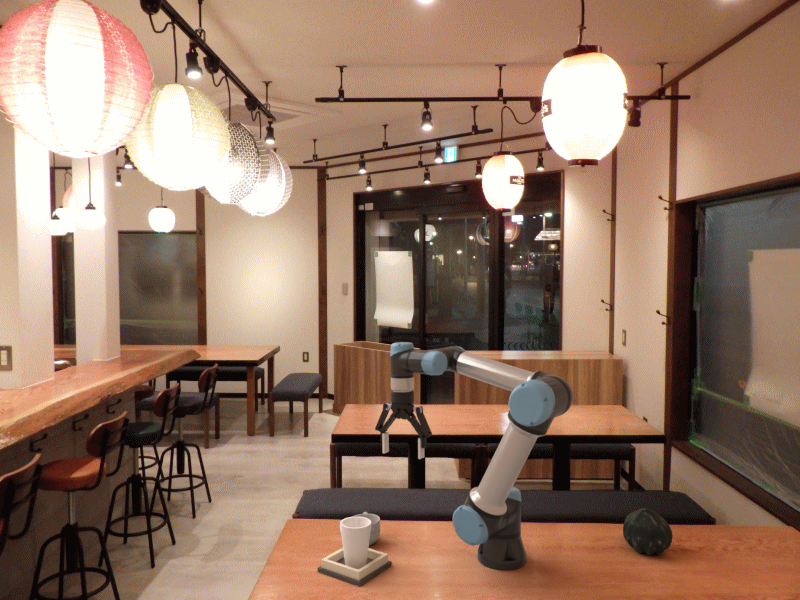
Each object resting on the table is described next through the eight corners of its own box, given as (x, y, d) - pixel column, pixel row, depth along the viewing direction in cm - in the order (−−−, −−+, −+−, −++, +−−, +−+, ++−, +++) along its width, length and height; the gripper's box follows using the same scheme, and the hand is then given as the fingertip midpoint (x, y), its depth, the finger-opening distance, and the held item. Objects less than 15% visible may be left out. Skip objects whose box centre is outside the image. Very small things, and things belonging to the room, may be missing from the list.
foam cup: (347, 574, 183) (347, 530, 182) (335, 561, 191) (335, 519, 190) (376, 567, 187) (376, 524, 187) (363, 555, 195) (363, 514, 195)
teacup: (375, 550, 202) (375, 526, 201) (343, 547, 204) (343, 523, 203) (385, 533, 215) (385, 510, 215) (355, 531, 217) (355, 508, 217)
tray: (391, 565, 191) (391, 553, 191) (359, 586, 178) (359, 574, 178) (351, 552, 200) (351, 541, 200) (317, 571, 187) (317, 559, 187)
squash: (657, 521, 212) (633, 492, 208) (689, 541, 197) (664, 509, 194) (630, 552, 210) (605, 522, 206) (659, 574, 195) (633, 543, 192)
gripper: (441, 391, 199) (442, 457, 199) (377, 385, 212) (377, 447, 212) (430, 395, 192) (431, 463, 193) (364, 388, 205) (365, 452, 206)
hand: (403, 455), depth 202 cm, fingers open, 13 cm apart
